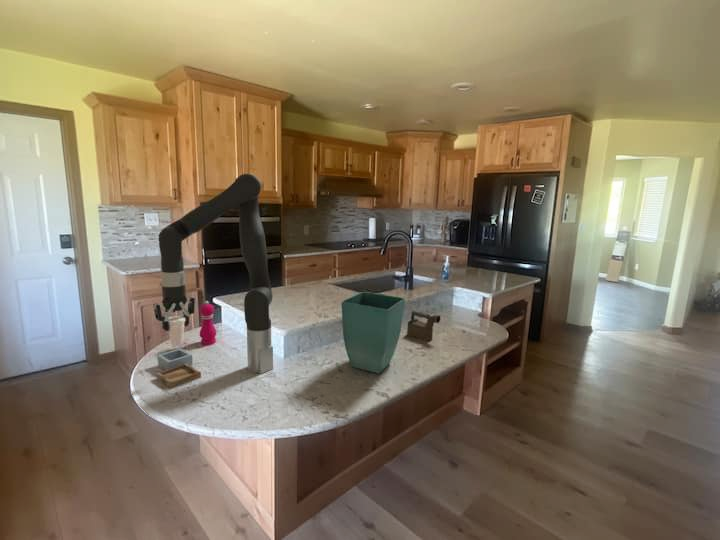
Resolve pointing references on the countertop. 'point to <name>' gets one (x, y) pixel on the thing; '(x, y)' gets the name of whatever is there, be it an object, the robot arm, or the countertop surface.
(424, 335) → the dark brown boxy piece
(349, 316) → the flower pot
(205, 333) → the pepper mill
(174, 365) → the holder
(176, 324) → the smoothie
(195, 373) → the tray
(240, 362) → the countertop surface
